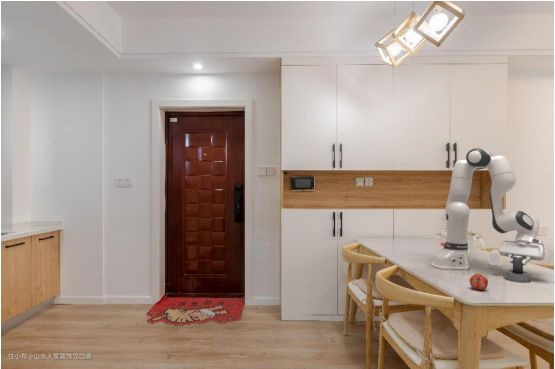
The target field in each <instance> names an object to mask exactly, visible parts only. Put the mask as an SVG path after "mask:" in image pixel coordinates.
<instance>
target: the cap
mask: <svg viewBox="0 0 555 369" xmlns="http://www.w3.org/2000/svg"><path fill="white" fill-rule="evenodd" d="M512 259H513V263H512V269H513V272H516V273H523V271H524V265H522V261H524V259H523V257H522V256H516V255H514V256H513V258H512Z"/></svg>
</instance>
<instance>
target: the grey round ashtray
mask: <svg viewBox="0 0 555 369" xmlns="http://www.w3.org/2000/svg"><path fill="white" fill-rule="evenodd" d="M503 271H504V273H503V274H504V275H503V278H504V279H505V280H506V281H510V282H514V283H523V284H524V283H530V282H532V280H531V278H532V277H531V275H532V274H531V272H529V271H526V270H523V273H516V272H513V268H512V269H511V268H510V269H508V268H507V269H505V270H503Z"/></svg>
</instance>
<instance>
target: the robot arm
mask: <svg viewBox="0 0 555 369" xmlns="http://www.w3.org/2000/svg"><path fill="white" fill-rule="evenodd" d="M483 169H484V170H485V169H486V170H487V171H488V172H489V176H490V178H491V187H490V189H489V200H490V201H489V202H490V208H491V217H492V218H491V221H492V222H491V225H492V228H493V229H494V230H495V231H496V232H498V233H499V234H507V233H509V232H510V233H511V232H514V231H516V232H517V234H515V235H516V236H515V239H514V241H513V240H504V241H501V244H500V246H499V248H498V253H499V255H500V256H503V257H509V261H508V262H509V264H513V256H514V255H516V256H522V257H523V261H522V265H523V266H527V264H528V263H530V262H531V261H538V262H542V261H544V260H545V256H546V252H545V250H546V248H545V244H544V242H543V241H542V240H540V239H538V238H536V237H537V236H538V234H539V231H540V222H539V220H538V219H537V218H536V217H535V216H532V215H528V214H527V213H526V212H525V211H523V210H517V211H513V212H510V213H505V214H504V210H503V202H502V199H503V198H504V196H505V195H506V194H507V193H508V192H510V191H511V190H512V189H513V187H514V186H515V184H516V181H517V180H516V177H515V173H514V170H513V167H512V165H511V163H510V161H509V160H508V158H507V157H506V156H505V155H495V156H493V154H492V153H491V152H489V151H488V150H486V149H483V148H479V147H477V148H475V147H474V148H472V149H470V150H469V151H468V152H467V153H466V155H465V159H459V160H457V161H456V162H455V163H454V164H453V169H452V174H451V177H450V178H451V179H450V184H449V185H450V187H449V191H448V196H447V200H446V204H445V213H446V215H447V216H448V217H447V226H446V241H445V242H442V241H441V242H440V243H439V244H440V246H442V247H443V248H442V249H441V250H439V251H438V252H436V253H435V254H434V256H433V259H432V261H431V262H429V263H428V264H429V266H431V267H433V268H436V269H440V270H463V271H464V270H465V271H466V270H469V269H470V268H471V267H470V262H469V258H468V257H469V256H468V250H469V243H468V226H469V220H470V213H471V211H470V206H469V205H468V200H469V197H470V194H471V189H472V183H473V175H474V172H475V171H476V170H477V171H479V170H483Z"/></svg>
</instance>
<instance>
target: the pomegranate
mask: <svg viewBox="0 0 555 369" xmlns="http://www.w3.org/2000/svg"><path fill="white" fill-rule="evenodd" d="M488 283H489V282H488V278H487V277H485V276H484V275H482V274H481V273H475V274H474V275H471V276H470V278H469V284H470V286H471V288H473V289H474V290H479V291H484V290H486V289H487V287H488Z"/></svg>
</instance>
